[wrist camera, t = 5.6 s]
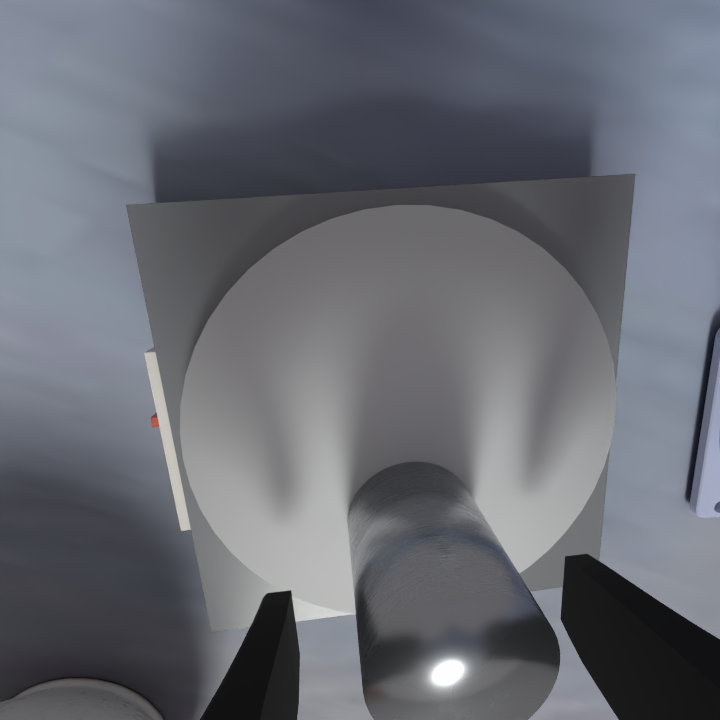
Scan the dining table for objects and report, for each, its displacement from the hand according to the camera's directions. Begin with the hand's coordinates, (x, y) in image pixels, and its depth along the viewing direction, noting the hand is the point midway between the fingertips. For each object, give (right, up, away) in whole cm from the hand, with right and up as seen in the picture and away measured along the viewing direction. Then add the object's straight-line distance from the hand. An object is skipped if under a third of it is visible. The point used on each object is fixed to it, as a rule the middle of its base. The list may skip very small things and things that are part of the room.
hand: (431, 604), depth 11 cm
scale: (-1, +5, +4) cm, 6 cm away
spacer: (0, +1, +2) cm, 3 cm away
